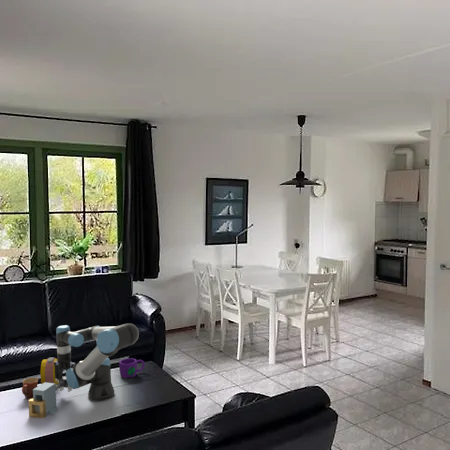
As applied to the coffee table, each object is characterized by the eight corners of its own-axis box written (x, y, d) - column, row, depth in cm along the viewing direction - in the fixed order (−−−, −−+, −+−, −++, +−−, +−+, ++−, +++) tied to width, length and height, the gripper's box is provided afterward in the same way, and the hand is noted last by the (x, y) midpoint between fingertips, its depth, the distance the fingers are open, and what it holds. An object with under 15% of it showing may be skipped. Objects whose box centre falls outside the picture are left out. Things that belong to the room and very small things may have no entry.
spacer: (46, 416, 257) (45, 400, 256) (43, 418, 255) (42, 402, 254) (32, 414, 260) (31, 398, 259) (29, 416, 257) (28, 400, 257)
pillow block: (60, 408, 266) (59, 383, 266) (49, 416, 257) (47, 391, 256) (42, 406, 270) (40, 381, 269) (30, 414, 260) (29, 389, 259)
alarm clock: (55, 391, 290) (54, 362, 288) (41, 392, 288) (39, 363, 287) (59, 381, 304) (58, 353, 303) (46, 383, 303) (45, 354, 302)
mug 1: (29, 393, 287) (28, 377, 287) (42, 394, 286) (41, 377, 285) (16, 402, 276) (15, 385, 275) (30, 403, 274) (29, 385, 273)
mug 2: (123, 380, 304) (123, 365, 303) (117, 375, 313) (116, 360, 312) (148, 374, 314) (148, 359, 313) (141, 369, 323) (140, 354, 322)
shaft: (71, 385, 282) (70, 377, 282) (48, 400, 262) (48, 391, 262) (64, 384, 284) (63, 376, 283) (41, 399, 263) (40, 390, 263)
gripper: (81, 351, 281) (82, 389, 282) (55, 349, 286) (56, 386, 287) (73, 355, 274) (75, 394, 275) (47, 353, 279) (48, 391, 280)
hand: (65, 390), depth 281 cm, fingers closed on shaft, 5 cm apart
